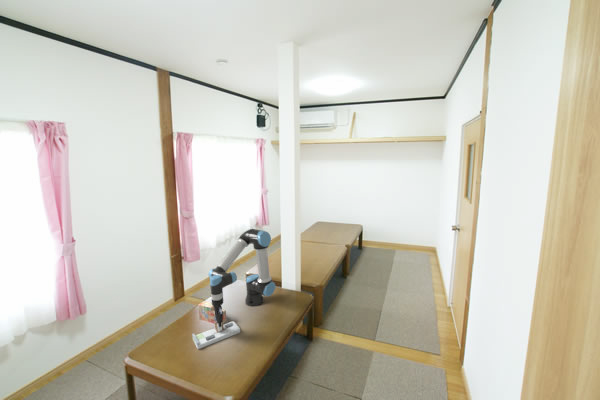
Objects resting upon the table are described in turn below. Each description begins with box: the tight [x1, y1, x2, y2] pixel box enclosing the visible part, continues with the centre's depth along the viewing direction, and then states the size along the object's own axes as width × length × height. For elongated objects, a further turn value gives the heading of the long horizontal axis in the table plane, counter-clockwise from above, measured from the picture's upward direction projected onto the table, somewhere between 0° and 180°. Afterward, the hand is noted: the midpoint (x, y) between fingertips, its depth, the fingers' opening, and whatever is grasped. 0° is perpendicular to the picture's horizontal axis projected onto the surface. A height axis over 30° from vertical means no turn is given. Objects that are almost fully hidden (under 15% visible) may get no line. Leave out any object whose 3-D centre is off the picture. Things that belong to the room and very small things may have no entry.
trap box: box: [192, 320, 241, 350], centre depth 190 cm, size 29×12×4 cm, turn 125°
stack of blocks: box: [197, 300, 227, 325], centre depth 209 cm, size 21×6×12 cm, turn 65°
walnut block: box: [214, 323, 224, 333], centre depth 193 cm, size 4×4×4 cm
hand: (219, 330), depth 190 cm, fingers closed
